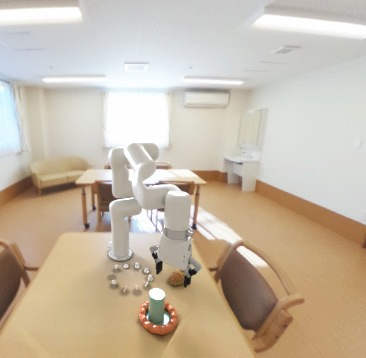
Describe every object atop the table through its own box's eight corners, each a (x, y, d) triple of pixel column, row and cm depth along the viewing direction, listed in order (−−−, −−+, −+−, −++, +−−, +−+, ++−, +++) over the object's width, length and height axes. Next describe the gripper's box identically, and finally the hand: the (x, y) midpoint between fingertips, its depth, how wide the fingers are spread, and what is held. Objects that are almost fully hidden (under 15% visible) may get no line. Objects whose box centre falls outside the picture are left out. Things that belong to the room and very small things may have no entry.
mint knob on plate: (138, 321, 75) (139, 295, 73) (151, 305, 82) (152, 281, 80) (161, 336, 70) (162, 308, 67) (172, 317, 77) (174, 291, 74)
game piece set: (115, 299, 85) (114, 291, 84) (106, 268, 104) (106, 261, 103) (159, 289, 90) (159, 282, 89) (143, 262, 109) (143, 255, 108)
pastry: (176, 289, 90) (176, 282, 89) (164, 281, 95) (164, 274, 95) (189, 280, 96) (189, 273, 95) (177, 272, 101) (177, 265, 100)
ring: (131, 320, 74) (131, 315, 74) (151, 297, 85) (152, 292, 84) (165, 344, 66) (166, 338, 66) (183, 315, 77) (184, 309, 76)
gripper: (208, 234, 62) (202, 283, 67) (157, 219, 72) (154, 262, 77) (199, 246, 56) (194, 298, 61) (145, 227, 66) (143, 273, 71)
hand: (172, 278), depth 69 cm, fingers open, 9 cm apart
